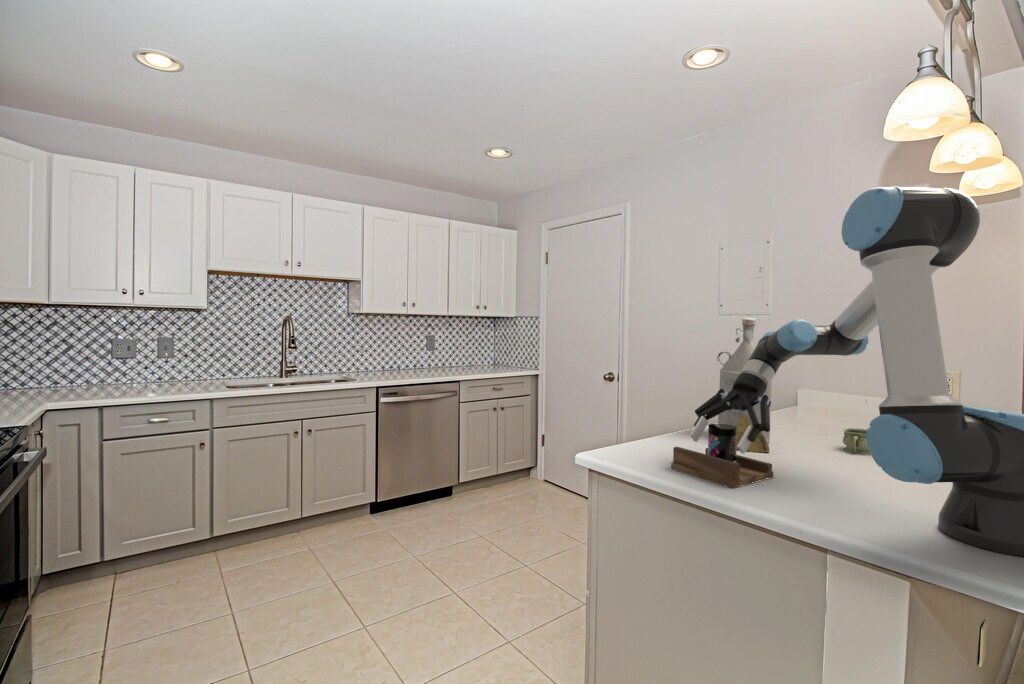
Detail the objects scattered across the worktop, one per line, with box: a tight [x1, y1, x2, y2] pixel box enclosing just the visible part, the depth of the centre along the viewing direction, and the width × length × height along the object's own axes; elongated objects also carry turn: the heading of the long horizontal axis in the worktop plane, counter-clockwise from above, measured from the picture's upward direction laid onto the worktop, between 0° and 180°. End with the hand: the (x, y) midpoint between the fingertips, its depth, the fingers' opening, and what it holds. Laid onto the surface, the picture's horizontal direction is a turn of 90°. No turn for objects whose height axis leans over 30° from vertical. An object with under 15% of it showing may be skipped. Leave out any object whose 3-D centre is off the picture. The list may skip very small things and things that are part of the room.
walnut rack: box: [670, 446, 775, 489], centre depth 126 cm, size 16×18×6 cm
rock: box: [735, 416, 771, 453], centre depth 148 cm, size 11×9×10 cm
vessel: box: [842, 427, 871, 456], centre depth 148 cm, size 12×9×6 cm
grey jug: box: [716, 317, 773, 444], centre depth 162 cm, size 13×17×40 cm
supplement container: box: [707, 423, 737, 462], centre depth 126 cm, size 7×7×10 cm
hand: (715, 444), depth 125 cm, fingers open, 13 cm apart
